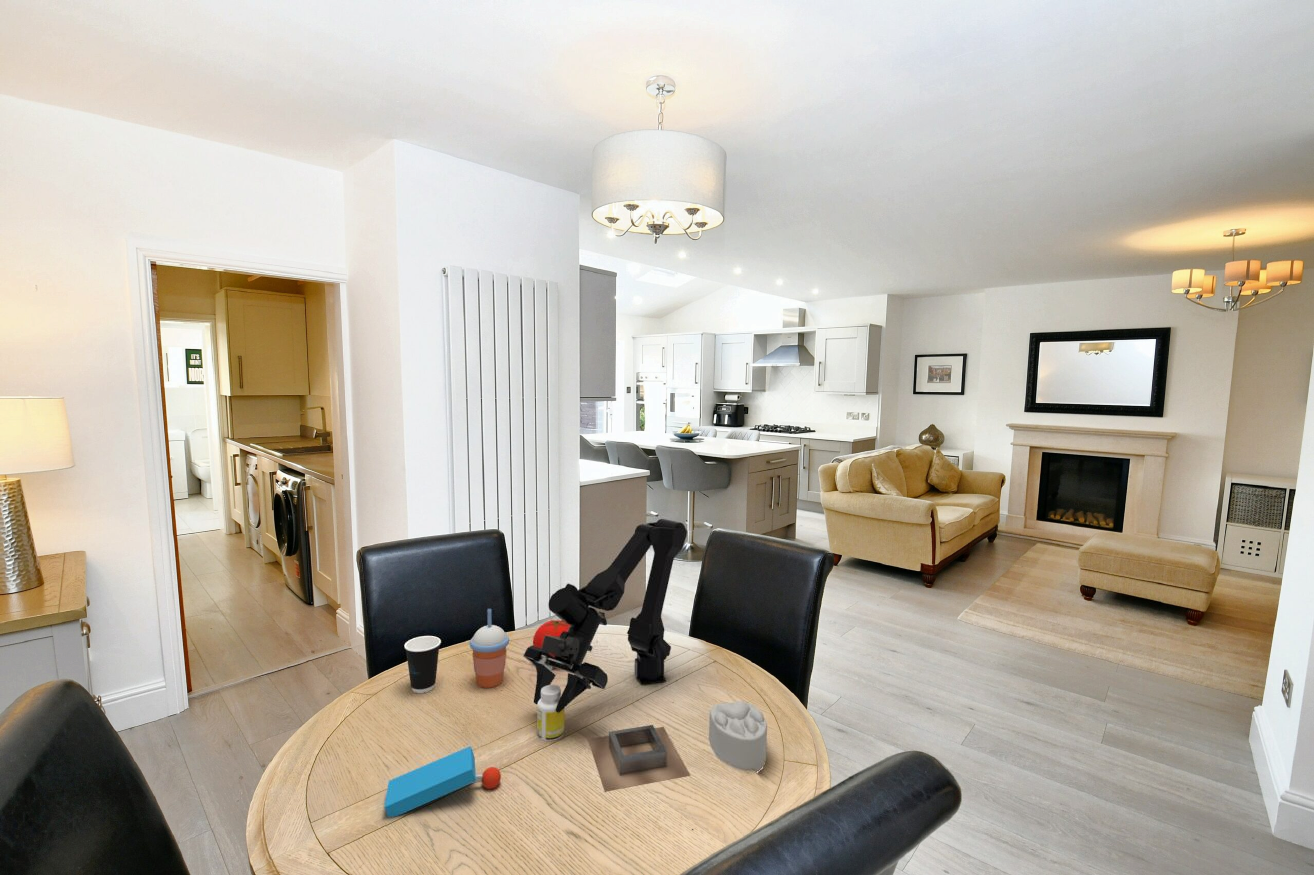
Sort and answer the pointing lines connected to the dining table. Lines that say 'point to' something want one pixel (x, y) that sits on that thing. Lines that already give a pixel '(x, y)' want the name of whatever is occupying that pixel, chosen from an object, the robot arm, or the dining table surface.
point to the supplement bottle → (549, 714)
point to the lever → (436, 781)
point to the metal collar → (637, 760)
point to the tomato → (549, 631)
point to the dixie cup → (422, 662)
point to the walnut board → (616, 781)
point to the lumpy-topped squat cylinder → (738, 735)
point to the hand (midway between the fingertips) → (545, 707)
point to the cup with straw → (489, 654)
